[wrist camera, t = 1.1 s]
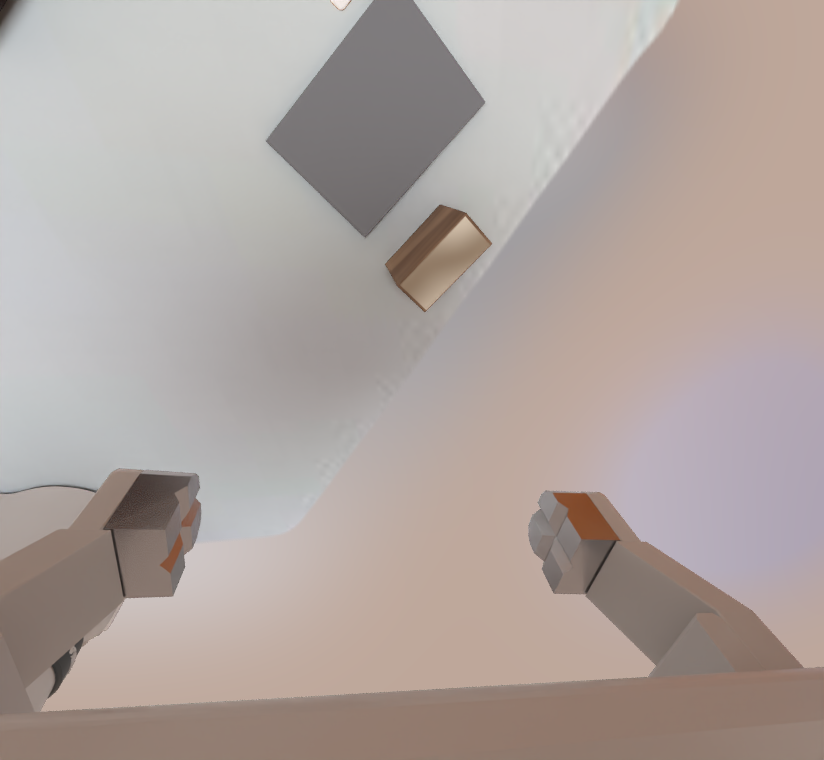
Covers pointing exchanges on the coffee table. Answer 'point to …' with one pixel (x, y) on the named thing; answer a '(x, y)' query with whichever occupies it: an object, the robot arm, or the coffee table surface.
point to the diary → (2, 3)
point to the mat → (377, 113)
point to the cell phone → (340, 3)
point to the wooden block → (437, 255)
